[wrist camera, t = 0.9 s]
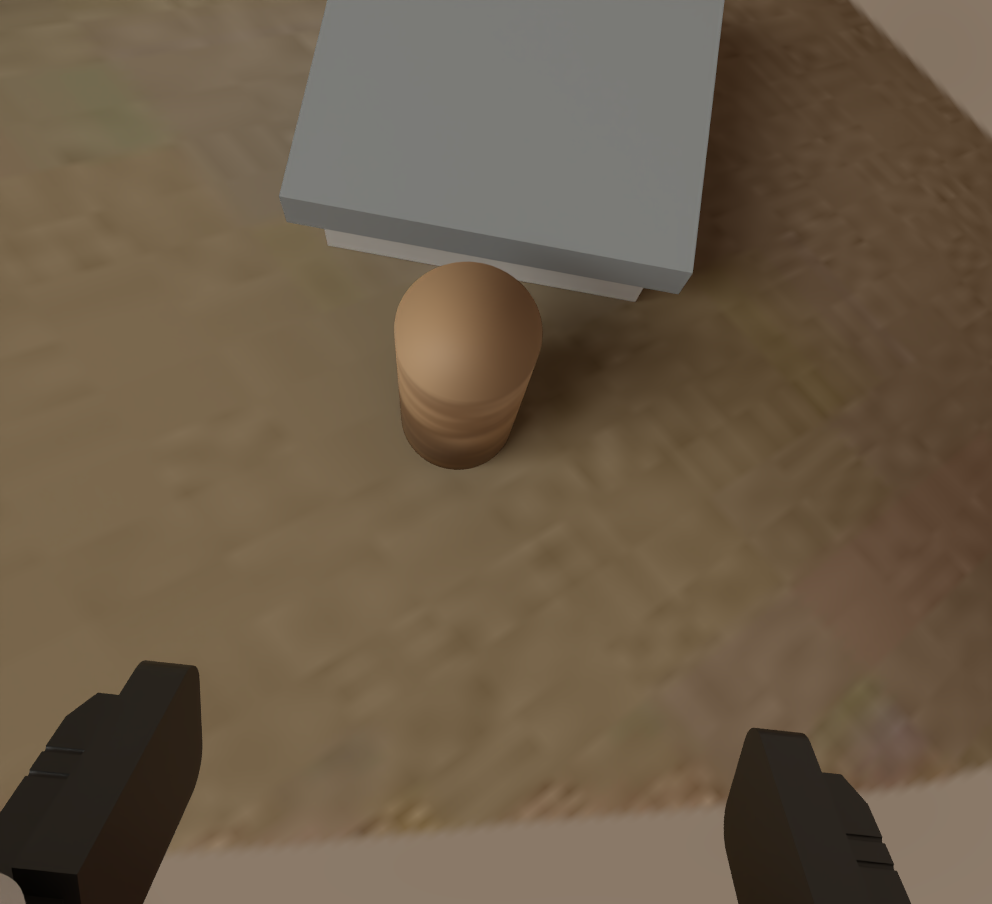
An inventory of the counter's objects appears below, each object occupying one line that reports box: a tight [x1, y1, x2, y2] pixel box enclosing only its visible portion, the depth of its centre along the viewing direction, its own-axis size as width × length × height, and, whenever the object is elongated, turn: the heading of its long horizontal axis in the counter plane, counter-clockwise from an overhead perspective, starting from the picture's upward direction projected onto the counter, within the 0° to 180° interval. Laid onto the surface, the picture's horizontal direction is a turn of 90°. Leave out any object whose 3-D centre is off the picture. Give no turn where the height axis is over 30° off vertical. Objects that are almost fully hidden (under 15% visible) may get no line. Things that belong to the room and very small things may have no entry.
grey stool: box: [279, 0, 724, 302], centre depth 39 cm, size 16×13×6 cm
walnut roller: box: [394, 262, 543, 470], centre depth 34 cm, size 5×5×10 cm
